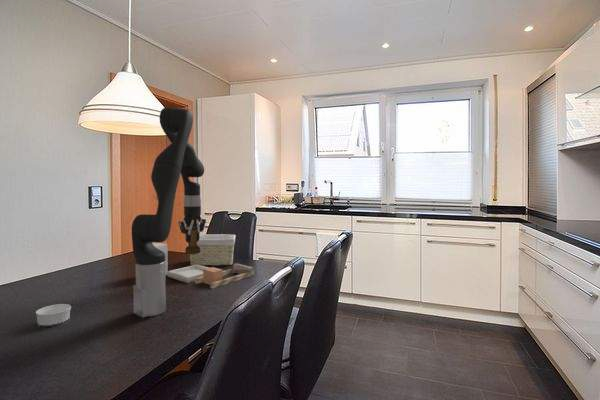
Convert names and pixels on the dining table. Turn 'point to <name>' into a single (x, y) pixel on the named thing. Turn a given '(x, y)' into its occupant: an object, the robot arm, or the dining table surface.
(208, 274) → the orange brown block
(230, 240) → the storage basket
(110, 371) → the dining table surface
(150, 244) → the robot arm
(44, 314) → the ramekin
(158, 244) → the supplement box
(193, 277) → the tray
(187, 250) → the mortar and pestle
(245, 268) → the rail
